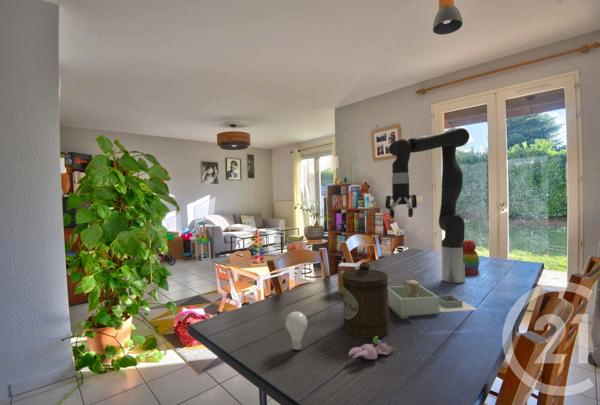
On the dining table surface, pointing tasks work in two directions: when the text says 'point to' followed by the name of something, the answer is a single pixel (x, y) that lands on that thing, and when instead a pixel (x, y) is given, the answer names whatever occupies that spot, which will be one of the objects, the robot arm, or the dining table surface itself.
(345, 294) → the wooden container
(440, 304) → the socket
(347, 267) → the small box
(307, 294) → the dining table surface
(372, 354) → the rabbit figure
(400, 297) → the bin
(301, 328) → the lightbulb
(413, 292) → the strut
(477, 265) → the stacking bear
